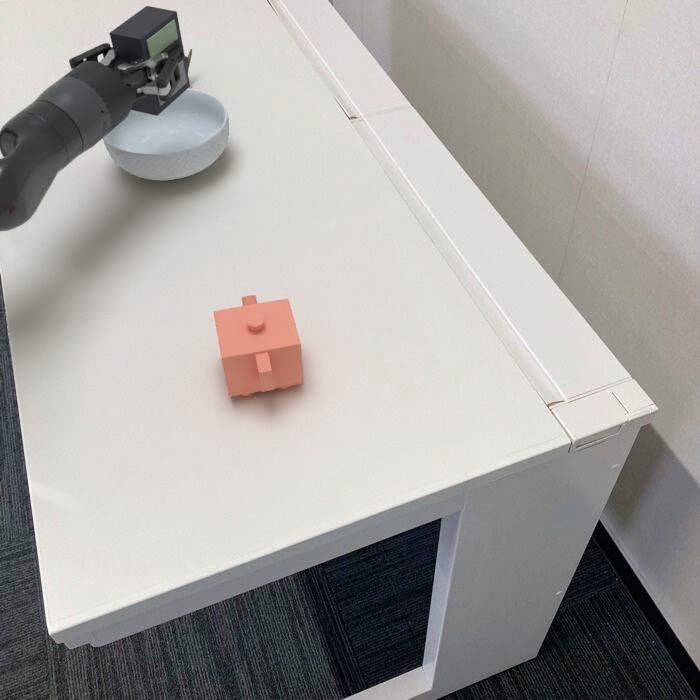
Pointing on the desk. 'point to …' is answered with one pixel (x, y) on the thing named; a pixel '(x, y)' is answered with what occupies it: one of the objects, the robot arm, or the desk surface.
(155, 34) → the calculator
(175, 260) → the desk surface
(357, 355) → the desk surface
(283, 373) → the pink cube teapot
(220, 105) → the cereal bowl
